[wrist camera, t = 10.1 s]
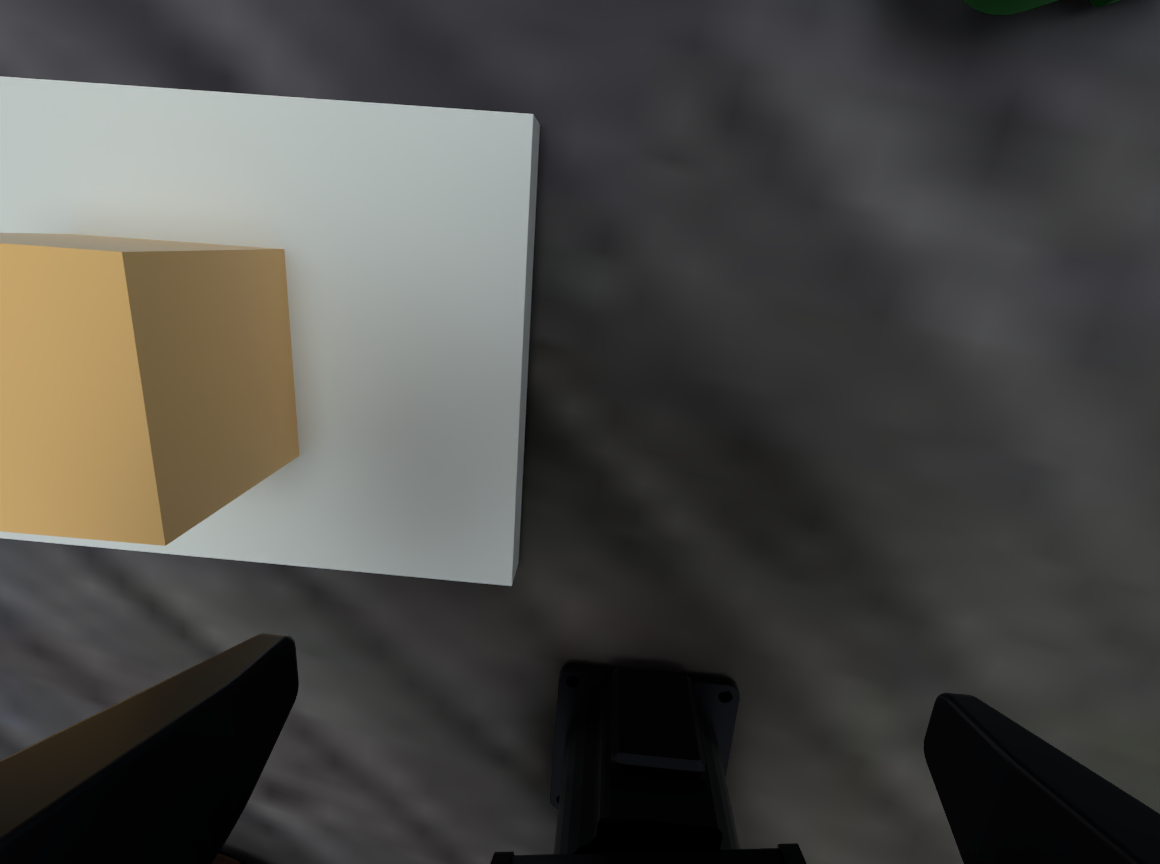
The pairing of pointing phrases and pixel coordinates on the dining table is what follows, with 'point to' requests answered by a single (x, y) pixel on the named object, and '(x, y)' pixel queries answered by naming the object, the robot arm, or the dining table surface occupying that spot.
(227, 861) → the flowerpot
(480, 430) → the plate
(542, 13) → the dining table surface
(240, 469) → the cardboard box
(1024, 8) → the clamp
